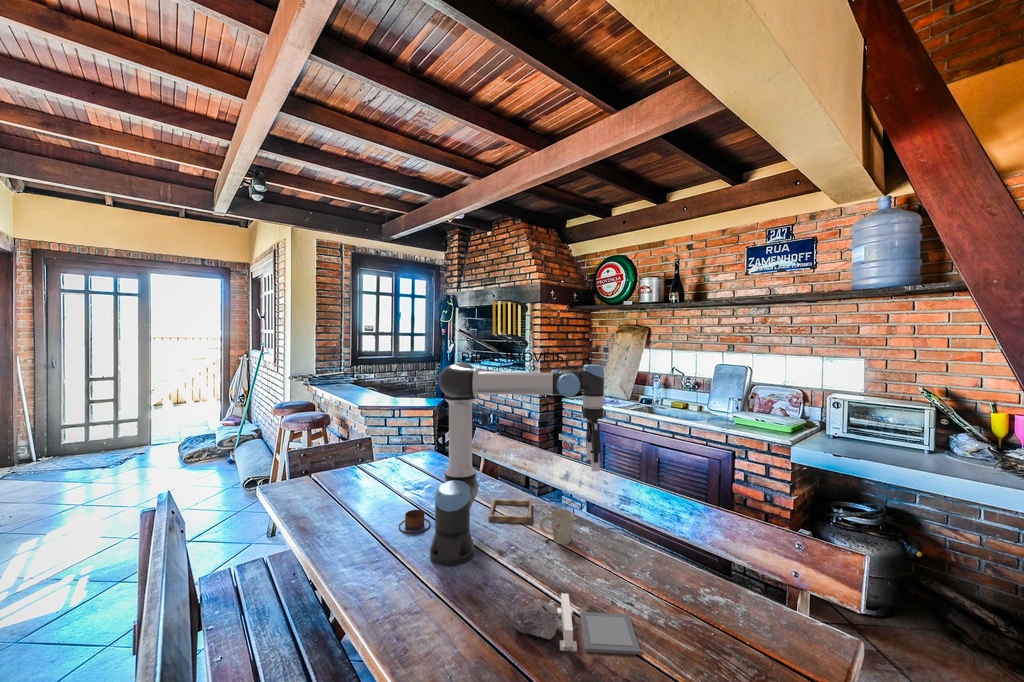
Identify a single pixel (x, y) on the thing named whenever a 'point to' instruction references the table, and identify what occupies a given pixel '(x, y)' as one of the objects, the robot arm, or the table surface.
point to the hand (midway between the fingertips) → (592, 465)
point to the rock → (536, 621)
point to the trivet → (609, 633)
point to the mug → (560, 525)
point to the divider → (566, 624)
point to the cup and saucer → (414, 521)
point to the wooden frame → (510, 518)
